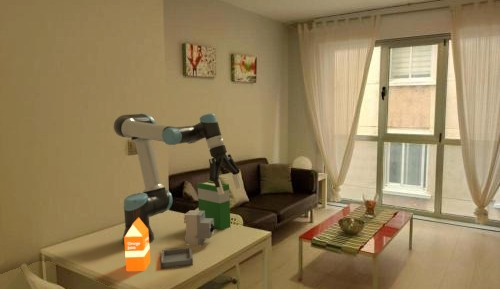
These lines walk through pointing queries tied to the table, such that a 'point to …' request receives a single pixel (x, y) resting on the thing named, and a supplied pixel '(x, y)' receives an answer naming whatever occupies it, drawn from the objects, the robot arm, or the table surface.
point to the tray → (176, 257)
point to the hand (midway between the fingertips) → (230, 191)
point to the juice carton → (137, 247)
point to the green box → (215, 204)
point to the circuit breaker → (198, 227)
